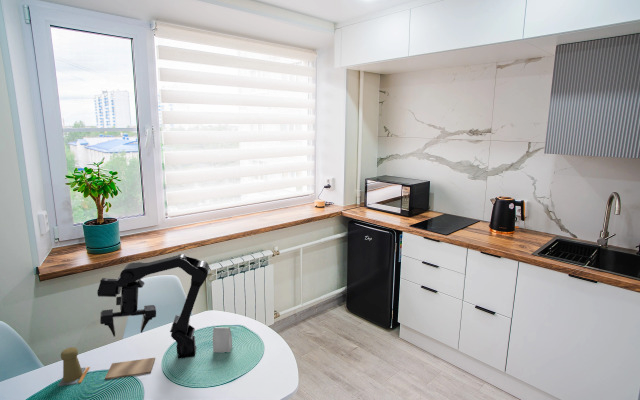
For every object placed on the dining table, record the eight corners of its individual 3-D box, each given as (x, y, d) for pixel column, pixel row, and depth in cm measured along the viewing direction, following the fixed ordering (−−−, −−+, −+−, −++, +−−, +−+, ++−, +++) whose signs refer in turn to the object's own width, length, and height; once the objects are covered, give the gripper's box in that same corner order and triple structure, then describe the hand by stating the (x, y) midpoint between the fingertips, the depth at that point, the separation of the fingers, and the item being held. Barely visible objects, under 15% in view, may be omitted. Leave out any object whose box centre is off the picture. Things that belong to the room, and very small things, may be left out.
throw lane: (155, 358, 144) (155, 357, 144) (150, 372, 136) (150, 371, 136) (68, 370, 137) (68, 369, 137) (57, 386, 129) (57, 384, 129)
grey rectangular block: (229, 352, 148) (228, 330, 146) (213, 352, 148) (211, 330, 146) (232, 347, 151) (231, 325, 149) (216, 346, 152) (214, 325, 150)
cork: (73, 383, 130) (68, 355, 128) (58, 380, 131) (54, 353, 129) (86, 372, 136) (82, 345, 133) (73, 369, 137) (68, 343, 135)
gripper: (154, 285, 150) (152, 320, 152) (101, 290, 140) (100, 327, 143) (157, 297, 140) (155, 334, 143) (100, 303, 131) (99, 342, 133)
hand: (128, 334), depth 141 cm, fingers open, 9 cm apart
